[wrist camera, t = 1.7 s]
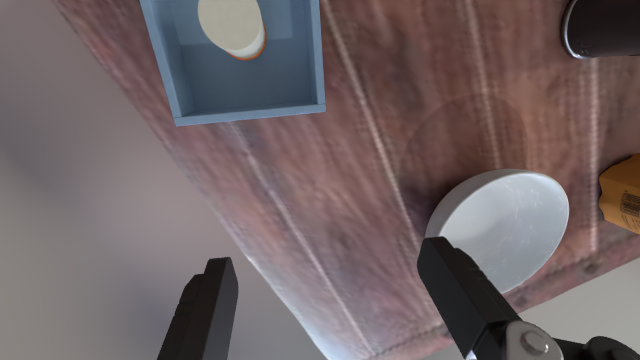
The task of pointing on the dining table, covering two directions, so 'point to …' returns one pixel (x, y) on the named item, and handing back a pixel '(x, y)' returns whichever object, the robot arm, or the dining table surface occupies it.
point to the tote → (238, 64)
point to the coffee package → (622, 194)
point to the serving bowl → (504, 222)
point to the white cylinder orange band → (234, 26)
